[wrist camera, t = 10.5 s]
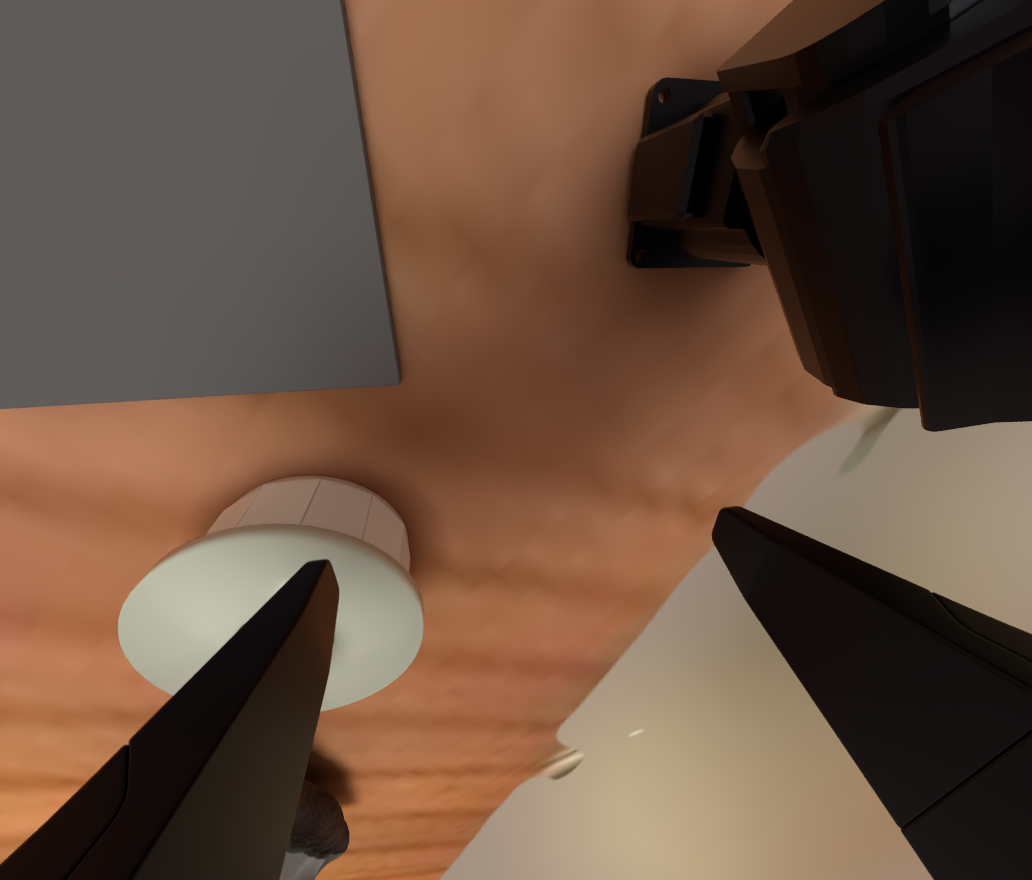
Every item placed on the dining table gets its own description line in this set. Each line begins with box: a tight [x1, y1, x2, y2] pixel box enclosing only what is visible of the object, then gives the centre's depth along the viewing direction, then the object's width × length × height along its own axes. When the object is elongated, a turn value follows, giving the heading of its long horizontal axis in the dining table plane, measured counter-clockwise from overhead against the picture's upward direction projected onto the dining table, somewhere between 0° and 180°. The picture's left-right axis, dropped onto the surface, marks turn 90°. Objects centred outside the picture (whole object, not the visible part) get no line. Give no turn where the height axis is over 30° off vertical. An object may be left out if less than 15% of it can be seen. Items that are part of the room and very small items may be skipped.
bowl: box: [206, 475, 410, 573], centre depth 20 cm, size 10×10×5 cm
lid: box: [118, 523, 424, 712], centre depth 16 cm, size 12×12×4 cm
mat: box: [0, 0, 401, 409], centre depth 13 cm, size 16×16×1 cm
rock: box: [280, 779, 349, 880], centre depth 30 cm, size 18×11×8 cm, turn 10°
